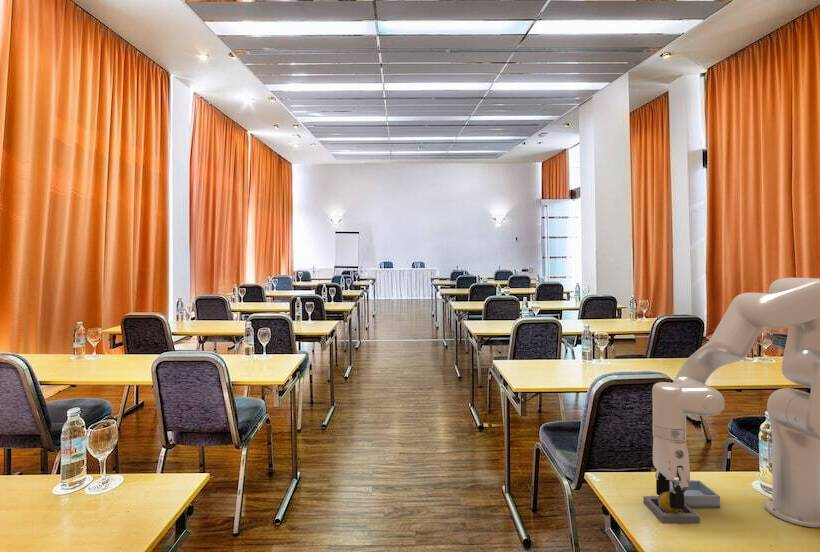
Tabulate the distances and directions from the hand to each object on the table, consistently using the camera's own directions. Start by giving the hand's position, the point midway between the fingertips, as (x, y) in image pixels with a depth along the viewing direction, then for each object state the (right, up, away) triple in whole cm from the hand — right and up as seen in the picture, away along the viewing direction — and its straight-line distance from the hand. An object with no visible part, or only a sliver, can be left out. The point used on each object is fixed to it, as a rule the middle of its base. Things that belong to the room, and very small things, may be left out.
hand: (669, 500), depth 118 cm
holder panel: (0, -3, 0) cm, 3 cm away
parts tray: (+10, -3, +7) cm, 12 cm away
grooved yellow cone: (0, -3, 0) cm, 3 cm away
